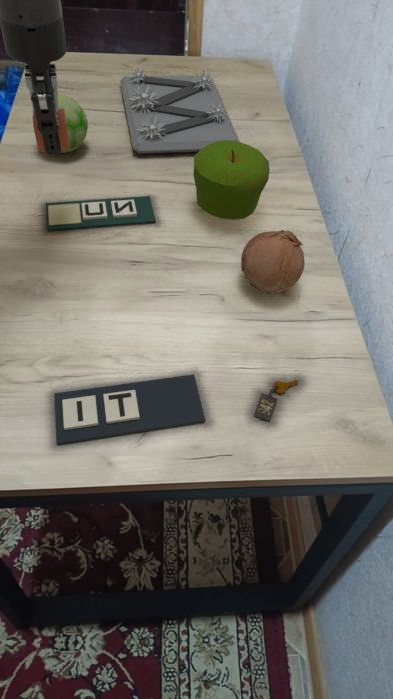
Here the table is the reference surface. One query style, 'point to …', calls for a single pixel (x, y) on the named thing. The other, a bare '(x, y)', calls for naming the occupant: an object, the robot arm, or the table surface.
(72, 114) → the decorative ball
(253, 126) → the table surface
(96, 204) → the far word mat
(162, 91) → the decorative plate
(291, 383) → the key tag
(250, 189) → the apple
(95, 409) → the near word mat
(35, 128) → the red striped block
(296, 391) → the table surface
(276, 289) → the onion
